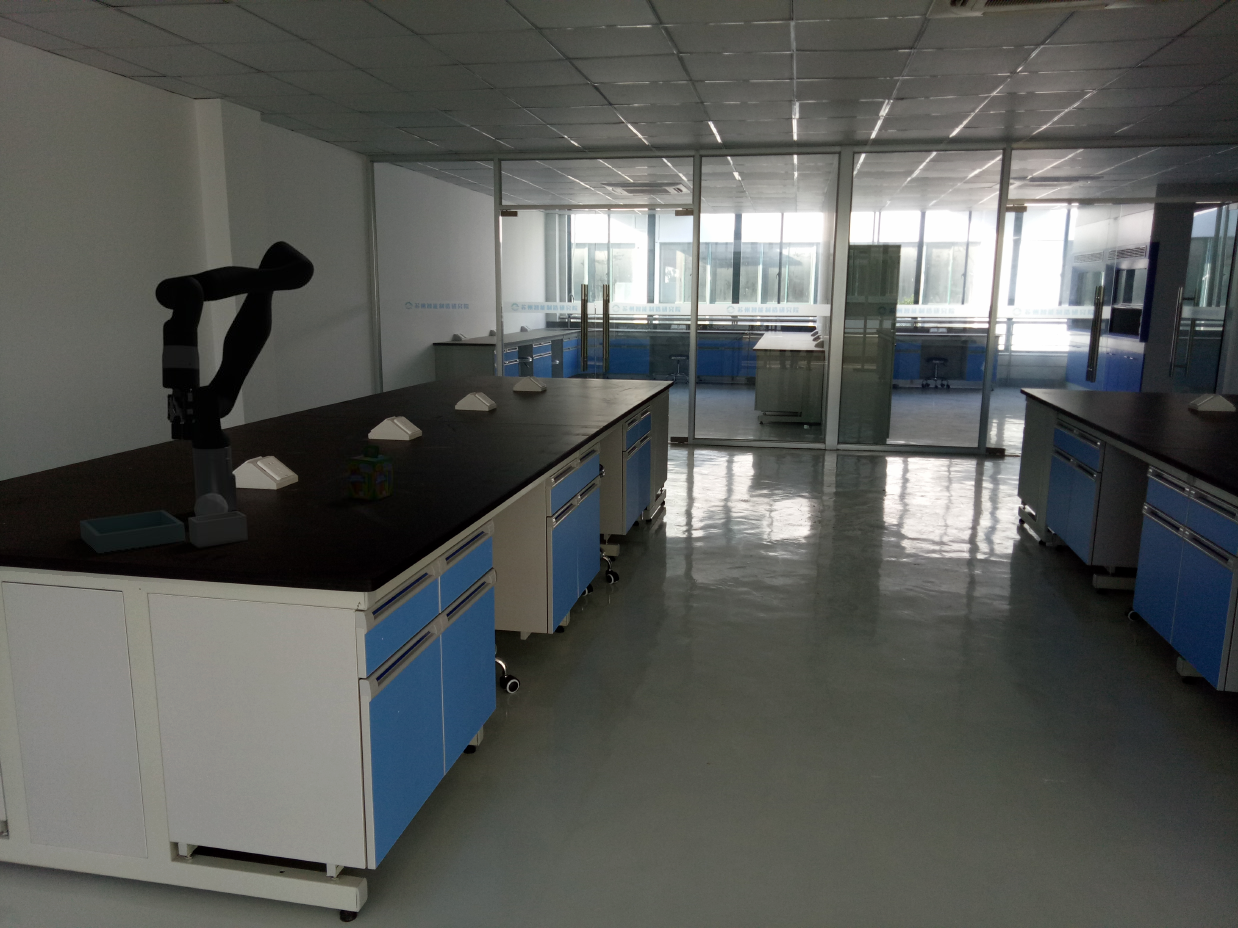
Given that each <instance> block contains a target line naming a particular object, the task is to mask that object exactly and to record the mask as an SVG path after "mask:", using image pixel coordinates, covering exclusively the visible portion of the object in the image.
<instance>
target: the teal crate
mask: <svg viewBox="0 0 1238 928" xmlns="http://www.w3.org/2000/svg"><path fill="white" fill-rule="evenodd" d="M79 527H80V528H79V529H80V537H81V539H82V540H83V541H84V543H85V544H87V545H88V546H89V545H90V546H91V547H92V548H93V549H94V550H95V551H96V552H97V553H102V554H105V553H104V552H109V553H111V552H110V551H115V552H117V551H116V550H122V551H126V550H125V549H128V550H132V549H131V548H135V549H140V548H139V547H141V548H145V547H146V546H148V547H152V546H153V545H154V546H159V545H160V544H161V545H165V544H173V543H178V542H186V532H185V523H184V522H182V521H181V520H179V519H178V518H176V517H175V516H173V515H172V514H170V513H169V512H167V511H166V510H165V509H160V510H153V511H152V510H151V511H145V512H139V513H138V512H137V513H130V514H120V515H116V516H114V515H113V516H107V517H98V518H90V519H83V520H79ZM90 546H89V547H90ZM91 547H90V548H91ZM92 548H91V549H92ZM146 548H147V547H146ZM93 549H92V550H93ZM94 550H93V551H94ZM95 551H94V552H95ZM96 552H95V553H96ZM97 553H96V554H97Z"/></svg>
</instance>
